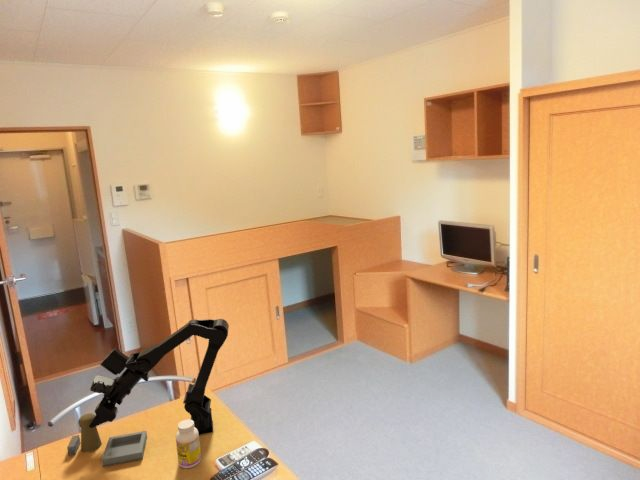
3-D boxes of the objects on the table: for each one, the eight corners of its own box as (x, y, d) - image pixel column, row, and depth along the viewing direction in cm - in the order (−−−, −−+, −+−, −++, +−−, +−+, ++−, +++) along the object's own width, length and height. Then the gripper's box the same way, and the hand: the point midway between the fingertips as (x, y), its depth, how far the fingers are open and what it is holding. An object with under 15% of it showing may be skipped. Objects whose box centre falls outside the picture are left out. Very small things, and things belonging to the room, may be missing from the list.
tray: (147, 437, 148) (146, 430, 147) (142, 459, 137) (141, 452, 137) (110, 444, 145) (109, 437, 145) (102, 467, 134) (101, 459, 134)
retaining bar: (80, 443, 146) (79, 435, 146) (75, 454, 141) (74, 446, 140) (73, 444, 146) (72, 436, 145) (68, 455, 140) (67, 447, 140)
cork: (93, 453, 141) (88, 422, 139) (76, 451, 142) (71, 420, 140) (105, 441, 147) (101, 411, 145) (89, 439, 148) (85, 409, 146)
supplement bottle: (174, 462, 135) (169, 424, 132) (193, 451, 140) (189, 414, 137) (186, 472, 130) (181, 433, 128) (205, 460, 135) (201, 422, 133)
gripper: (110, 356, 150) (79, 391, 150) (98, 382, 133) (62, 422, 132) (138, 374, 154) (107, 408, 153) (129, 402, 136) (95, 441, 135)
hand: (93, 418), depth 143 cm, fingers open, 9 cm apart
